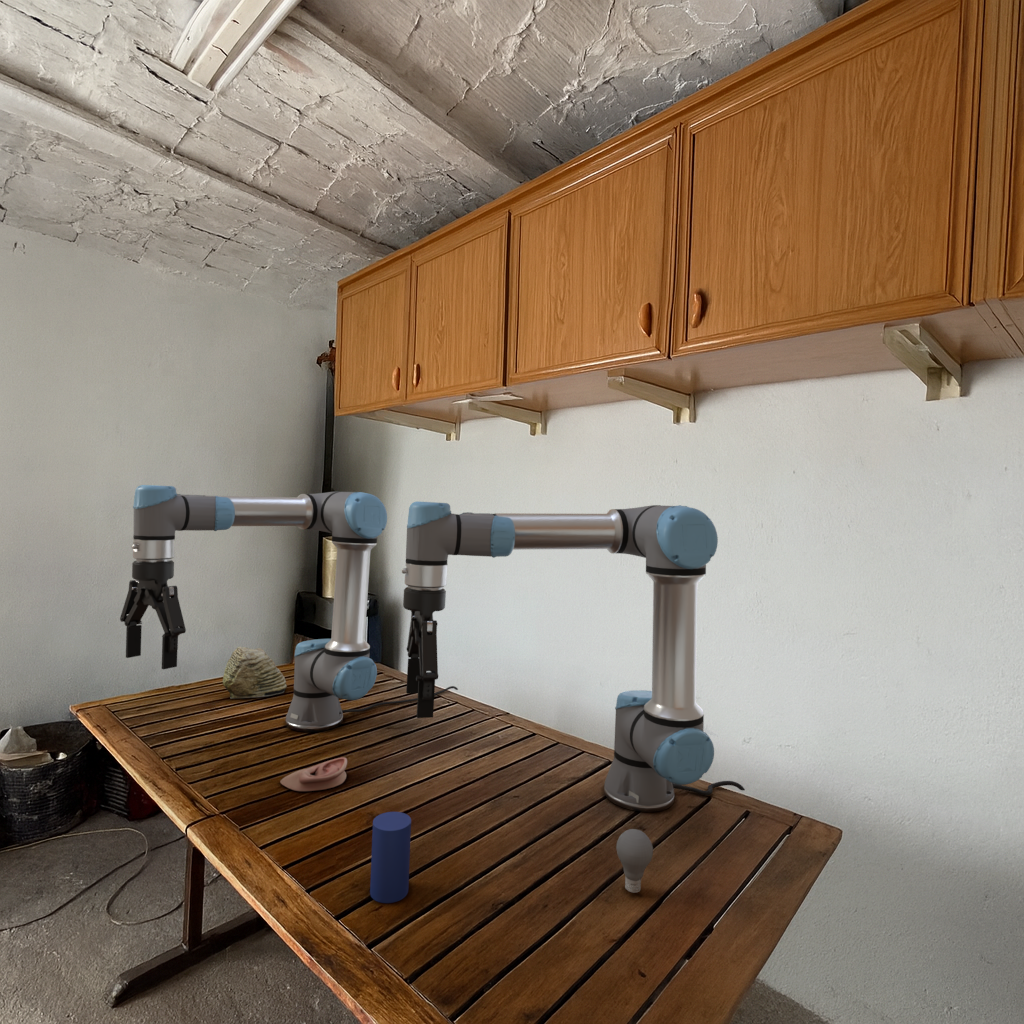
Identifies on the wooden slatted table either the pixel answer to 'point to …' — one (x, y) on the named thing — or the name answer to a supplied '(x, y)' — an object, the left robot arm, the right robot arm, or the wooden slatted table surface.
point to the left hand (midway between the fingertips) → (150, 662)
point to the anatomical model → (317, 776)
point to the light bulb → (634, 857)
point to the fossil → (252, 674)
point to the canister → (390, 857)
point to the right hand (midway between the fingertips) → (418, 704)
